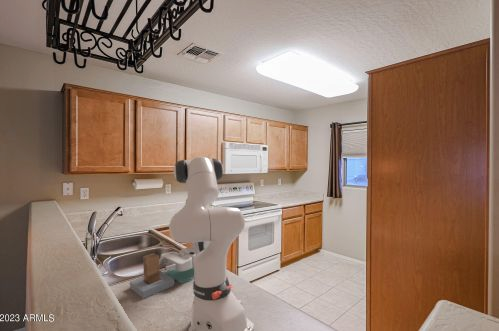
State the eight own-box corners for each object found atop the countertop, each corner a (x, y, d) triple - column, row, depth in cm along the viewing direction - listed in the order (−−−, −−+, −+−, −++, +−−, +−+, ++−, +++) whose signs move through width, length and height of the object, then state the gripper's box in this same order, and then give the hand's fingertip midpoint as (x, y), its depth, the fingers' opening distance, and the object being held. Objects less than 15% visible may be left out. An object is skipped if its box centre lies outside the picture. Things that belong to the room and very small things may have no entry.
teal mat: (206, 272, 120) (206, 271, 120) (181, 283, 110) (181, 282, 110) (188, 264, 131) (188, 263, 131) (164, 273, 121) (164, 273, 121)
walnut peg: (160, 286, 108) (158, 255, 108) (149, 290, 105) (147, 259, 105) (155, 282, 112) (153, 253, 112) (144, 287, 108) (143, 256, 108)
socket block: (174, 285, 109) (174, 278, 109) (143, 299, 98) (142, 291, 98) (159, 276, 118) (159, 270, 118) (130, 288, 108) (129, 281, 108)
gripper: (175, 246, 129) (150, 254, 118) (197, 255, 115) (171, 264, 104) (176, 258, 129) (150, 267, 118) (198, 268, 115) (171, 279, 104)
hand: (160, 266), depth 111 cm, fingers open, 8 cm apart
